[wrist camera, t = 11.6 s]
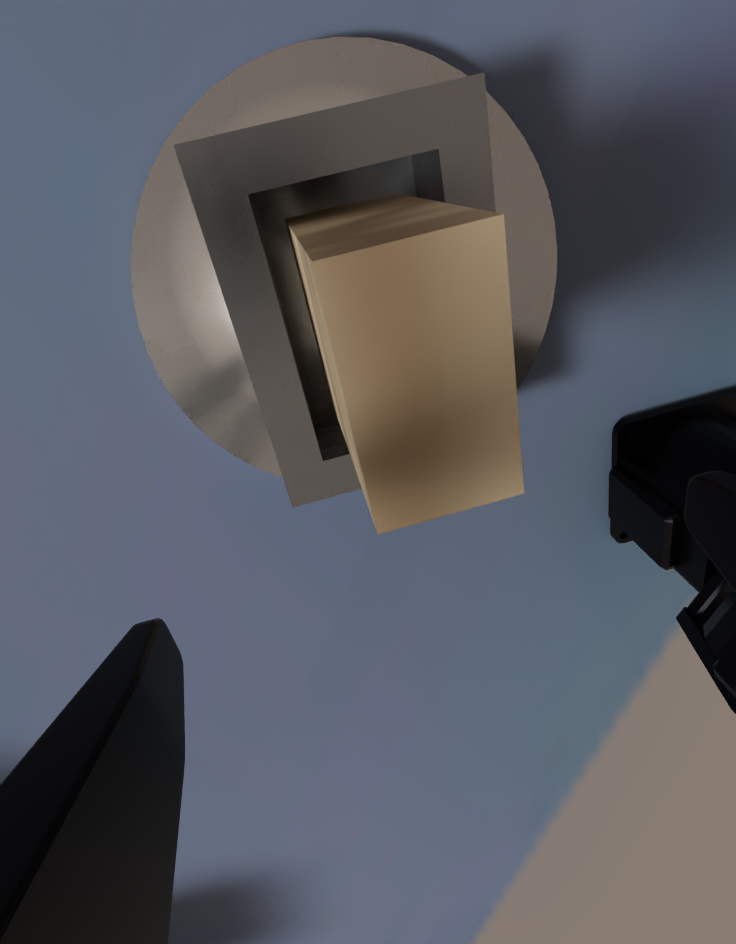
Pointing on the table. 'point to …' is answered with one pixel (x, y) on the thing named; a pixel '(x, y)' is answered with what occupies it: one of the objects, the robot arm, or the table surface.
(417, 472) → the light wood block
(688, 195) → the table surface
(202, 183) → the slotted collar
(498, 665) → the table surface
